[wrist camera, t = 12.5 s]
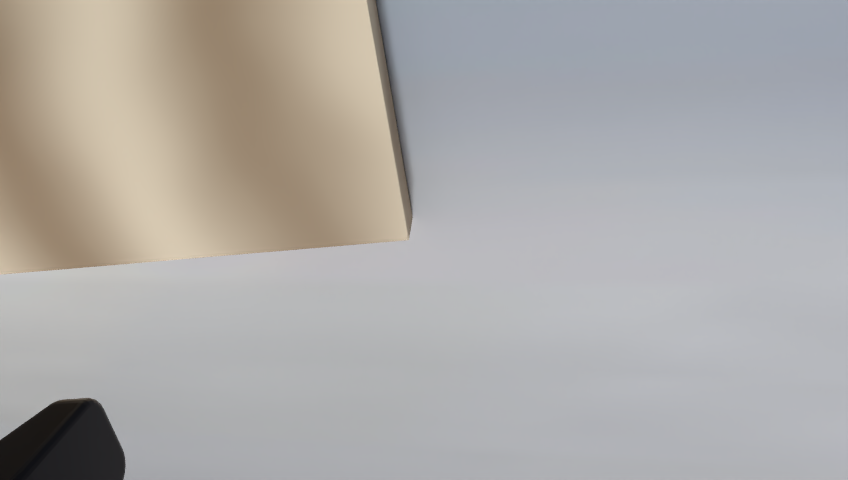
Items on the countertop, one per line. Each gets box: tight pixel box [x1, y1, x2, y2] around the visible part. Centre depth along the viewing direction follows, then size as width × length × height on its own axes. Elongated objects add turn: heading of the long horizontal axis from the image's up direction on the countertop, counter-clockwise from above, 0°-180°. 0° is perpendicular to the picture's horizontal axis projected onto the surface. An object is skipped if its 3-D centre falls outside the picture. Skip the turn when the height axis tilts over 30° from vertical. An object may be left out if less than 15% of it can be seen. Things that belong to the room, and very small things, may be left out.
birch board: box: [0, 0, 413, 274], centre depth 19 cm, size 18×14×1 cm
